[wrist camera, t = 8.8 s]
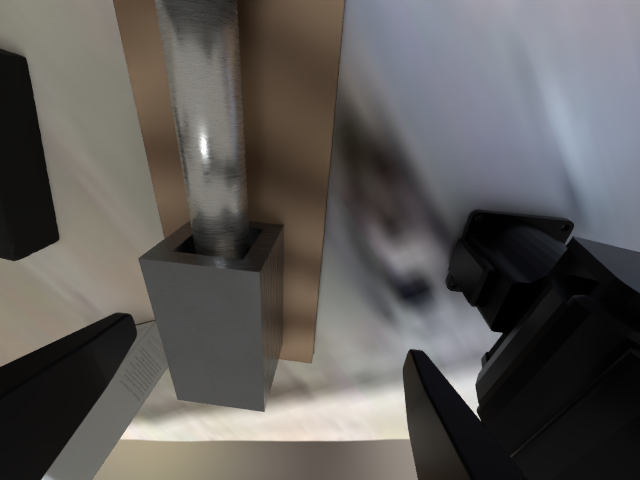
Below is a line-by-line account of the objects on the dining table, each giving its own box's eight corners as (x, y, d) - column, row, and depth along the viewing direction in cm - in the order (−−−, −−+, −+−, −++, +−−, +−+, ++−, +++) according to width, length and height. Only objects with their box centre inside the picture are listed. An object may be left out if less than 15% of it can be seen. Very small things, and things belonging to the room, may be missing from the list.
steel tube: (273, 264, 20) (251, 312, 15) (208, 256, 20) (167, 301, 16) (270, -194, 10) (208, -430, 6) (146, -198, 11) (-9, -429, 6)
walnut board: (313, 354, 26) (311, 363, 25) (193, 338, 27) (188, 347, 26) (371, -292, 10) (373, -330, 9) (66, -296, 11) (40, -332, 10)
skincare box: (137, 358, 29) (15, 506, 18) (111, 330, 27) (-39, 475, 17) (183, 348, 28) (79, 503, 17) (158, 318, 26) (27, 468, 15)
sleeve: (282, 344, 24) (264, 411, 19) (214, 335, 25) (177, 399, 19) (284, 224, 19) (259, 272, 14) (196, 215, 19) (138, 258, 14)
